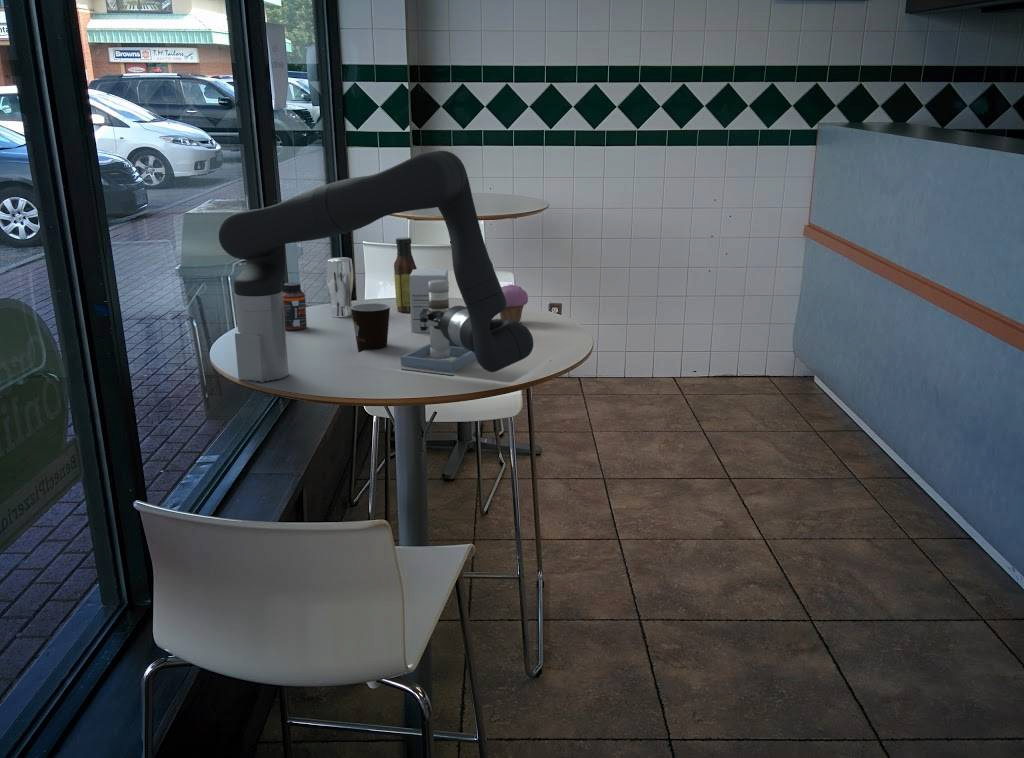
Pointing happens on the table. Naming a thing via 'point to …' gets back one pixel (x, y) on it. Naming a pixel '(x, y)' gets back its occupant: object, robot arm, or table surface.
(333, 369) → the table surface
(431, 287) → the cylinder
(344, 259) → the beer glass
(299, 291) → the supplement bottle
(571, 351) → the table surface
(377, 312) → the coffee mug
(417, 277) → the supplement box
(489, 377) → the table surface
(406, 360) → the parts tray
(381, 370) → the table surface
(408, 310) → the sauce bottle
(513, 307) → the cupcake
